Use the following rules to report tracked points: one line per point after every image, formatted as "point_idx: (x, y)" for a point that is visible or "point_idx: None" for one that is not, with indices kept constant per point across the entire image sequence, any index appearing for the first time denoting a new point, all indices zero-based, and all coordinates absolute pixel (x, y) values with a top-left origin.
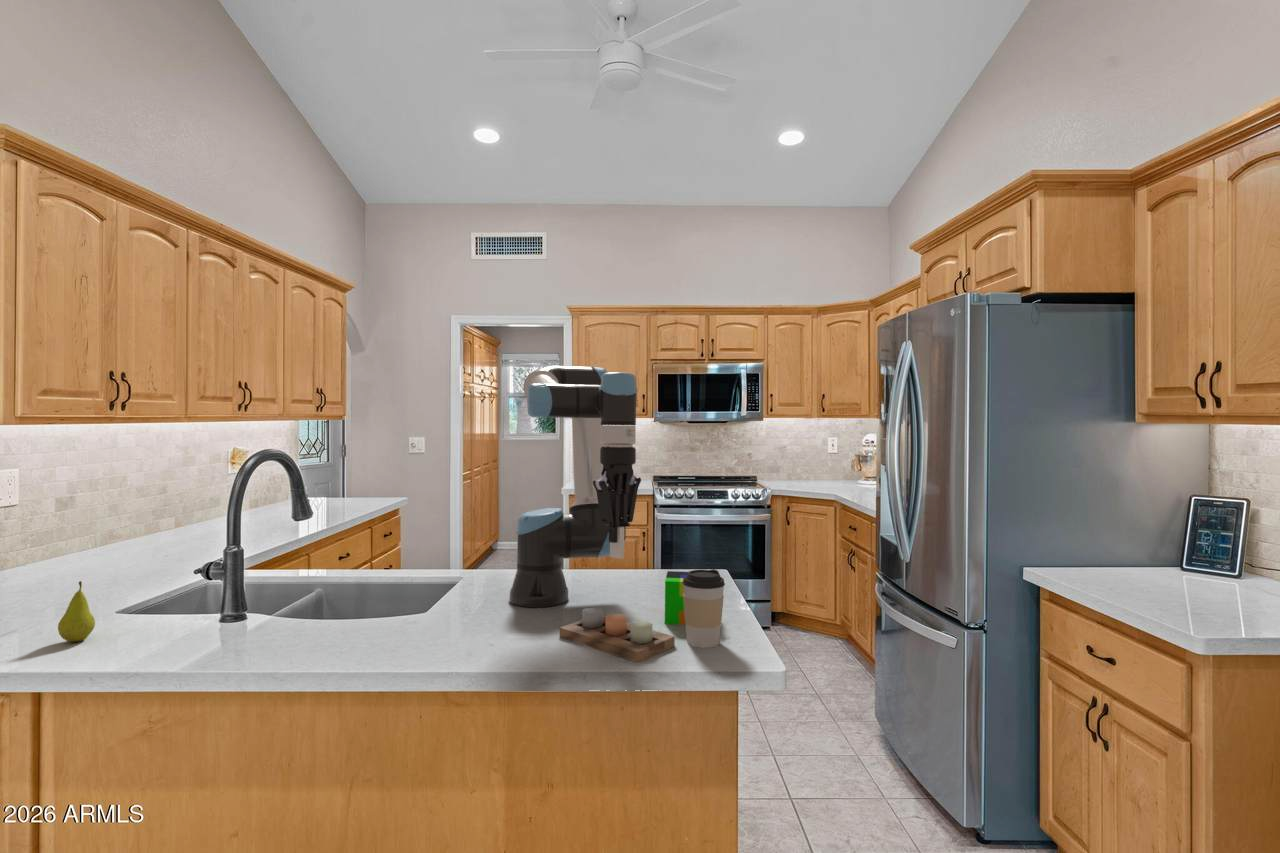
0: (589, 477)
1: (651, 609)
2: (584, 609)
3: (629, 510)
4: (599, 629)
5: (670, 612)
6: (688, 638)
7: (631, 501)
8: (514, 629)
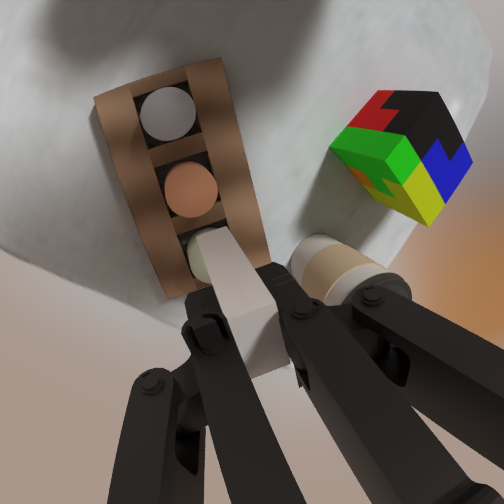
0: None
1: (363, 61)
2: (155, 94)
3: (402, 390)
4: (164, 152)
5: (349, 157)
6: (294, 261)
7: (451, 430)
8: (46, 19)
